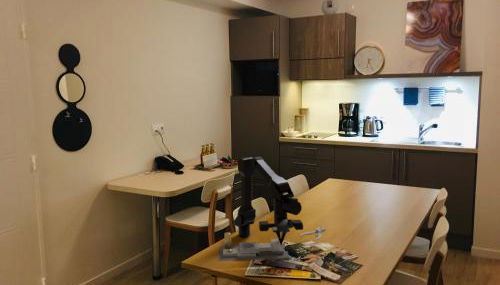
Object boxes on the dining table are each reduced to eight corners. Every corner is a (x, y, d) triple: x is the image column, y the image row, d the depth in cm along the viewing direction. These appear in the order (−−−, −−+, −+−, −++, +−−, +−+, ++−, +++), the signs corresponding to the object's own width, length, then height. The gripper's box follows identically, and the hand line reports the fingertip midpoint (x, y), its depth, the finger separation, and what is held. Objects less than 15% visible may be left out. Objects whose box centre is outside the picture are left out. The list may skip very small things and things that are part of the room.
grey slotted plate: (223, 251, 181) (223, 246, 181) (281, 248, 182) (281, 244, 182) (223, 258, 173) (223, 253, 173) (284, 255, 174) (284, 251, 174)
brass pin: (224, 247, 186) (224, 232, 185) (231, 247, 186) (231, 232, 185) (224, 249, 183) (224, 234, 182) (231, 249, 183) (231, 234, 182)
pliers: (298, 233, 199) (314, 225, 211) (298, 236, 200) (314, 228, 211) (316, 238, 193) (331, 229, 205) (316, 241, 193) (331, 232, 205)
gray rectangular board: (219, 247, 187) (219, 246, 187) (284, 245, 188) (284, 243, 188) (218, 262, 171) (218, 260, 171) (289, 259, 173) (289, 257, 172)
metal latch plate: (239, 246, 181) (239, 239, 181) (277, 244, 182) (277, 237, 182) (239, 253, 173) (239, 246, 173) (279, 251, 174) (279, 244, 174)
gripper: (260, 216, 167) (261, 252, 169) (305, 214, 168) (305, 250, 170) (258, 208, 178) (259, 242, 180) (300, 206, 179) (300, 240, 181)
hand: (281, 244), depth 178 cm, fingers closed
